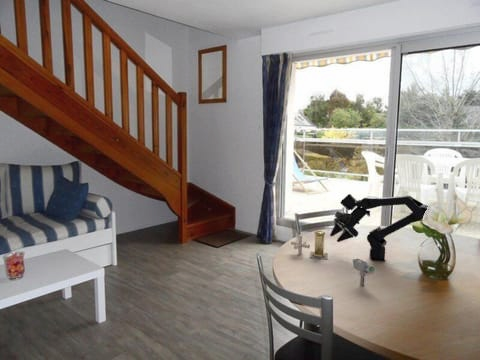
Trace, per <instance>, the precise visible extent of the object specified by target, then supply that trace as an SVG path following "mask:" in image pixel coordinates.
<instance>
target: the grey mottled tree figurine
mask: <svg viewBox="0 0 480 360" xmlns="http://www.w3.org/2000/svg"><path fill="white" fill-rule="evenodd" d="M352 266H353V269H354V270H356V271H359V276H360V280H359V286H360V287H363V286H365V280H366V279H365V277H366V276H368V275H371V274H374V271H375V267H374V266H373V265H368V262H367V261H364V260H362V259H360V258H353V259H352Z"/></svg>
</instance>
